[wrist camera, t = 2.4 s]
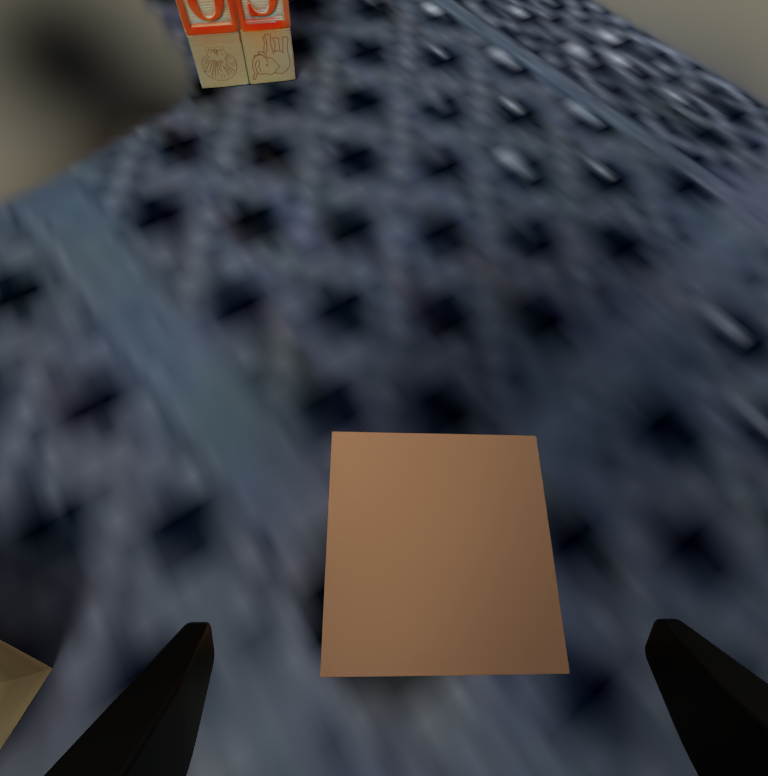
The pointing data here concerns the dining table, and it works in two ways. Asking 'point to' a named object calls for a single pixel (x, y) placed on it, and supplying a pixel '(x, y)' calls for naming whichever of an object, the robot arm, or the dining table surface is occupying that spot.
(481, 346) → the dining table surface
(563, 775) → the dining table surface
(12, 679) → the base brick
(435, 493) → the pillar brick
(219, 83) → the stack of blocks
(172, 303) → the dining table surface
